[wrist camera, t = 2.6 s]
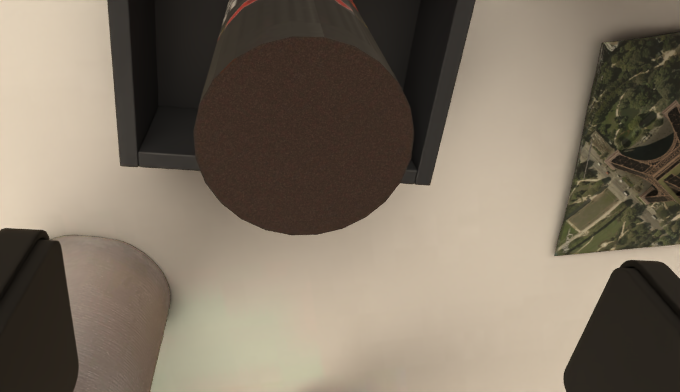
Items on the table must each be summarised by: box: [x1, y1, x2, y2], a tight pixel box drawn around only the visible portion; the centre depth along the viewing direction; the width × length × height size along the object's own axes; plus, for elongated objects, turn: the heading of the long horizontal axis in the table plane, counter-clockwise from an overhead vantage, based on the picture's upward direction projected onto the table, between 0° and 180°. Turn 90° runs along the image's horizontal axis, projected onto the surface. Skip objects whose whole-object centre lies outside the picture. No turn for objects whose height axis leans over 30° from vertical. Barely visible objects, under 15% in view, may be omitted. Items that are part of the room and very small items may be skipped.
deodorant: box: [193, 0, 414, 235], centre depth 21 cm, size 6×6×15 cm
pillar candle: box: [50, 235, 170, 392], centre depth 30 cm, size 10×10×15 cm
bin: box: [107, 0, 475, 185], centre depth 26 cm, size 15×13×6 cm
